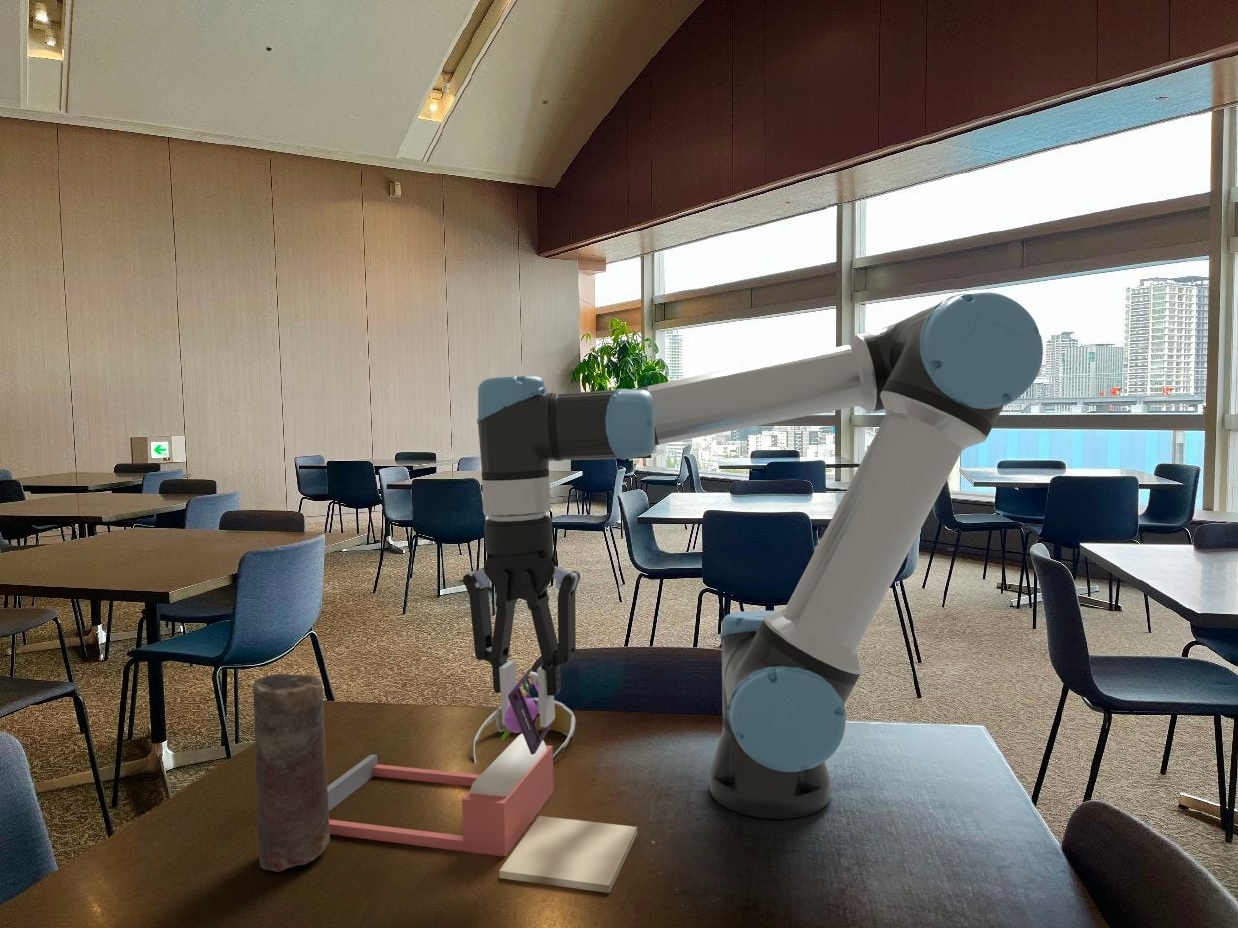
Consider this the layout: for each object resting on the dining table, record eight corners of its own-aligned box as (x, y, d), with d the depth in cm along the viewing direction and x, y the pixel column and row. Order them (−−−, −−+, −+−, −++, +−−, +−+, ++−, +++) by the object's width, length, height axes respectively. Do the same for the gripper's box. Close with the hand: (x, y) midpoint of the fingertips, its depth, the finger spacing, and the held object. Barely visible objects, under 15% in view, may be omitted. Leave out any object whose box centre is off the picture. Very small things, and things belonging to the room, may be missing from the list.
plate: (637, 833, 94) (637, 826, 94) (609, 892, 82) (609, 885, 82) (539, 822, 97) (539, 815, 97) (499, 877, 85) (499, 870, 85)
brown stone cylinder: (278, 837, 94) (271, 668, 93) (341, 837, 94) (334, 668, 93) (246, 875, 87) (237, 691, 85) (314, 874, 86) (306, 690, 85)
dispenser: (553, 791, 105) (552, 729, 104) (505, 856, 89) (503, 783, 89) (371, 772, 111) (369, 713, 111) (297, 829, 96) (294, 762, 96)
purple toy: (517, 692, 85) (537, 665, 94) (472, 708, 85) (496, 680, 94) (541, 752, 85) (558, 719, 94) (496, 767, 86) (518, 734, 94)
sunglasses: (586, 729, 126) (584, 700, 125) (557, 786, 111) (555, 753, 110) (500, 723, 129) (497, 694, 128) (461, 777, 115) (458, 745, 114)
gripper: (600, 510, 92) (610, 713, 93) (464, 512, 96) (475, 705, 98) (578, 519, 85) (589, 739, 86) (433, 521, 89) (445, 729, 91)
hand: (528, 720), depth 92 cm, fingers closed on purple toy, 4 cm apart
